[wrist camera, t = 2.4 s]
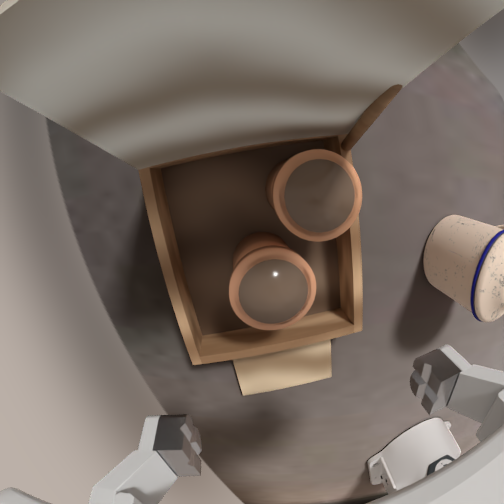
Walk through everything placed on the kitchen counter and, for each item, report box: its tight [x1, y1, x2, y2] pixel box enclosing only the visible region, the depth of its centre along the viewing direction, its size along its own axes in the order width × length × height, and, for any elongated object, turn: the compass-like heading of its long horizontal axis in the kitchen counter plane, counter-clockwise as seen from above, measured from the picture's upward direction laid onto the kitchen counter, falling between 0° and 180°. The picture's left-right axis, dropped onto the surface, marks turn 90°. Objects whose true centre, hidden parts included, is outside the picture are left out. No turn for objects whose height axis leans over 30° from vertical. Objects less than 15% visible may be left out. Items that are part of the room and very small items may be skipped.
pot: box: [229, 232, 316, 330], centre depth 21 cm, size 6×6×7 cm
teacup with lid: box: [423, 215, 504, 322], centre depth 20 cm, size 12×9×12 cm
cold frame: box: [0, 0, 504, 365], centre depth 14 cm, size 20×15×20 cm
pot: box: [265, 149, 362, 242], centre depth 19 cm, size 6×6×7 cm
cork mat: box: [233, 339, 331, 396], centre depth 28 cm, size 7×10×1 cm
